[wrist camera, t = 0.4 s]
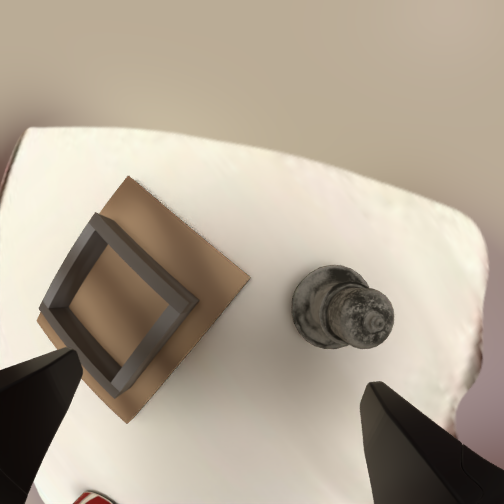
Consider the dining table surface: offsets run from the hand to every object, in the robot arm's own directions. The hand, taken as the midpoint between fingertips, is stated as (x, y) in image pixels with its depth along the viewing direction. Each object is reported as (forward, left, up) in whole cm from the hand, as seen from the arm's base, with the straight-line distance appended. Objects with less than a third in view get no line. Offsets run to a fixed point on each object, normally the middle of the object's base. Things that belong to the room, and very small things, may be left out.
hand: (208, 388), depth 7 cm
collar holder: (-6, +9, -15) cm, 19 cm away
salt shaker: (+5, -4, -15) cm, 17 cm away
